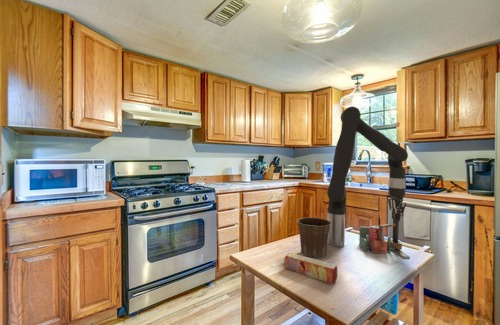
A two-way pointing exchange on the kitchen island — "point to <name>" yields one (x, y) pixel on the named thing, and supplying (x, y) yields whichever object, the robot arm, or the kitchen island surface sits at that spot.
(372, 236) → the soda can
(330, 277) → the snack package
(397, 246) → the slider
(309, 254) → the plant pot
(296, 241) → the kitchen island surface
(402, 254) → the rail
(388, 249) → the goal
